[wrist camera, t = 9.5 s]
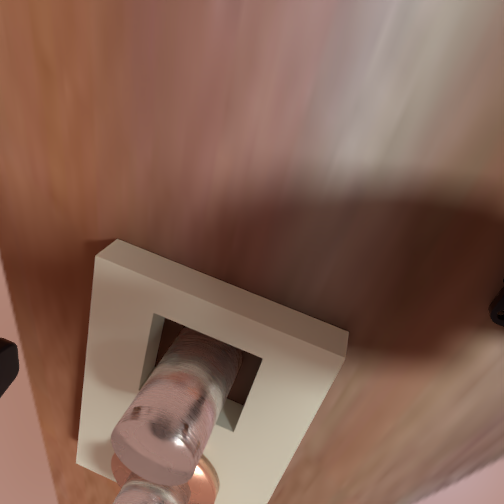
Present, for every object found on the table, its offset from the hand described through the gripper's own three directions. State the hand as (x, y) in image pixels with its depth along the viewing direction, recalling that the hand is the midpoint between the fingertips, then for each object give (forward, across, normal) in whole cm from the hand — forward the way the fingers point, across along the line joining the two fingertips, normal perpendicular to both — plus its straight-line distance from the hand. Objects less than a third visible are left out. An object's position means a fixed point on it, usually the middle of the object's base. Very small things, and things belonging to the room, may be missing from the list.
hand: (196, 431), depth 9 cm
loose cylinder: (+12, +3, +10) cm, 16 cm away
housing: (+12, +3, +14) cm, 18 cm away
